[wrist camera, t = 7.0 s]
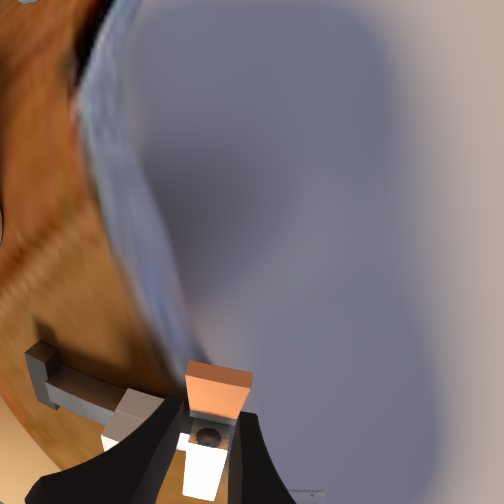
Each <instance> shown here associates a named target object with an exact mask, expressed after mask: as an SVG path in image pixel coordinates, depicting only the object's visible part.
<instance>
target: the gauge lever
mask: <svg viewBox="0 0 504 504" xmlns="http://www.w3.org/2000/svg"><path fill="white" fill-rule="evenodd" d="M185 377H186V385H187V392H188V399H189V405H190V416H191V417H195V418H200V419H204V420H209V421H214V422H219V423H224V424H229V425H235V423H236V419H237V417H238V415H239V413H240V411H241V409H242V407H243V404H244V402H245V400H246V398H247V396H248V394H249V391H250V389H251V384H252V378H253V373H250V372H244V371H239V370H234V369H228V368H224V367H219V366H215V365H210V364H205V363H201V362H197V361H192V360H189V363H188V366H187V370H186V374H185Z"/></svg>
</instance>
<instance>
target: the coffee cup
mask: <svg viewBox="0 0 504 504" xmlns="http://www.w3.org/2000/svg"><path fill="white" fill-rule="evenodd" d="M1 238H2V216H1V210H0V243H1Z"/></svg>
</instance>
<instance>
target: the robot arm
mask: <svg viewBox="0 0 504 504" xmlns="http://www.w3.org/2000/svg"><path fill="white" fill-rule="evenodd" d="M183 405H184V399H181V398H177V397H173V396H167V397H166V398H165V399H164V401H163V402H162V403H161V404H160V406H159V407H158V408H157V409H156V410H155V411H154V412H153V413H152V414H151V415H150V416H149V417H148V418H147V419H146V420H145V421H144V422H143V423H142V424H141V425H140V426H139V427H138V428H137V429H135V430H134V431H133V432H132V433H130V434H129V435H128V436H127V437H126V438H124V439H123V440H122V441H120V442H119V443H117V444H116V445H115V446H113V447H111V448H110V449H108V450H107V451H105V452H103V453H102V454H100V455H98V456H96V457H94V458H92V459H90V460H88V461H86V462H84V463H82V464H79V465H77V466H74V467H72V468H69V469H67V470H64V471H60V472H57V473H53V474H50V475H46V476H42V477H40V479H39V480H38V481H37V482H36V483H35V484H34V485H33V486H32V488H31V490H30V491H29V493H28V494H27V496H26V498H25V503H26V504H155V502H156V499H157V495H158V493H159V490H160V487H161V485H162V483H163V480H164V478H165V475H166V473H167V471H168V468H169V466H170V463H171V461H172V458H173V456H174V454H175V451H176V448H177V444H178V441H179V437H180V433H181V428H182V416H183ZM324 495H325V492H324V491H299V490H287V489H286V487H285V486H284V484H283V482H282V480H281V479H280V477H279V475H278V473H277V471H276V469H275V467H274V465H273V463H272V461H271V458H270V456H269V453H268V451H267V448H266V446H265V443H264V440H263V437H262V433H261V430H260V426H259V421H258V416H257V415H256V414H254V413H248V412H242V411H240V415H239V418H238V422H237V426H236V429H235V433H234V437H233V441H232V446H231V453H230V459H229V477H228V504H324V503H323V496H324ZM0 504H3V503H2V502H1V501H0Z"/></svg>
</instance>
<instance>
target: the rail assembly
mask: <svg viewBox="0 0 504 504" xmlns="http://www.w3.org/2000/svg"><path fill="white" fill-rule="evenodd" d="M25 357H26V361H27V365H28V369H29V373H30V377H31V381H32V384H33V388H34V391H35V394H36V398H37V401H39V402H41V403H43V404H45V405H47V406H48V407H50V408H52V409H54V410H56V411H57V409H58V408H59V407H60V406H61V407H63V408H66V409H68V410H70V411H72V412H74V413H76V414H78V415H81V416H83V417H85V418H88V419H90V420H92V421H95V422H97V423H100V424H102V425H105V426H107V424H108V422H109V420H110V419H111V417H112V415H113V414H114V412H115V410H116V408H117V406H118V404H119V403H120V401H121V399H122V398H123V396H124V394H125V393H126V391H127V390H125V389H122V388H119V387H117V386H114V385H111V384H108V383H105V382H103V381H100V380H97V379H95V378H92V377H90V376H87V375H85V374H82V373H80V372H78V371H75V370H73V369H70V368H68V367H66V366H64V365H62V363H61V358H60V351H59V349H58V348H55V347H53V346H51V345H49V344H47V343H44V342H42V341H40V340H39V341H38V342H37V343H36V344H34V345H33V346H32V347H31V348H30V349H28V350H27V351H26V352H25ZM230 429H231V425H229V424H224V423H219V422H214V421H209V420H204V419H200V418H195V417H191V416H190V408H187V407H183V416H182V428H181V433H180V437H179V441H178V444H177V448H176V449H179V450H183V451H187V454H186V465H185V476H184V488H183V495H187V496H191V497H196V498H201V499H206V500H211V501H214V498H215V494H216V491H217V487H218V483H219V480H220V476H221V473H222V469H223V465H224V462H225V458H226V454H227V450H228V443H229V436H230Z"/></svg>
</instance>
